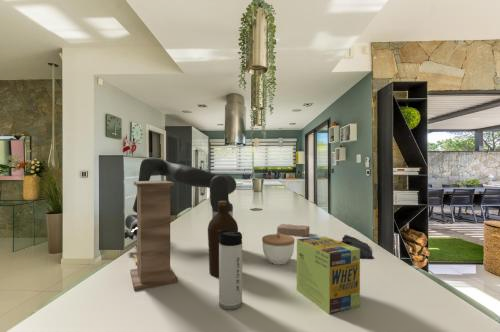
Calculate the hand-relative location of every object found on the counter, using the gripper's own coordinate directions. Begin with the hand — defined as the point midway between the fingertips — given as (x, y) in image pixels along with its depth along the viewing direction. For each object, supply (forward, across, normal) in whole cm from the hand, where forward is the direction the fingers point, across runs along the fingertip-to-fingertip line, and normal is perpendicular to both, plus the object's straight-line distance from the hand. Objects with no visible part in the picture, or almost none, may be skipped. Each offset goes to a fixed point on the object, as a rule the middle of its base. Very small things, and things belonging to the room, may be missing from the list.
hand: (143, 236), depth 116 cm
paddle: (+3, 0, +8) cm, 8 cm away
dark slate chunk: (+37, +83, +8) cm, 91 cm away
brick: (+1, +77, +8) cm, 78 cm away
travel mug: (+56, +16, +8) cm, 58 cm away
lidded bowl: (+34, +46, +8) cm, 57 cm away
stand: (+28, 0, +8) cm, 29 cm away
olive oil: (+34, +22, +8) cm, 42 cm away
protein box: (+65, +42, +8) cm, 78 cm away
